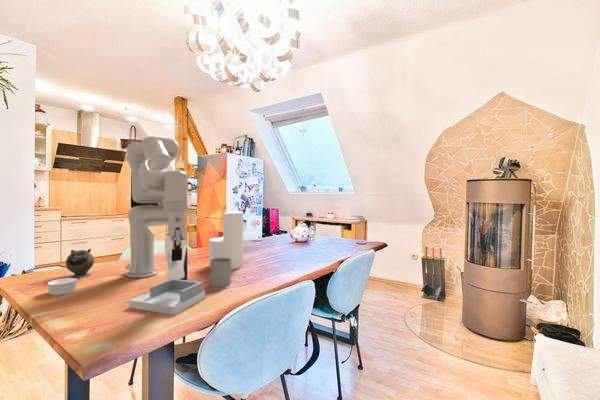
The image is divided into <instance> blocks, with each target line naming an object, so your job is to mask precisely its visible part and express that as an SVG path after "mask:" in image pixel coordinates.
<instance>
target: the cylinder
mask: <svg viewBox="0 0 600 400" xmlns="http://www.w3.org/2000/svg"><path fill="white" fill-rule="evenodd" d="M222 216H223V219H222V220H223V223H222V224H223V227H222V228H223V229H222V230H223V231H222V233H223V234H222V235H223V236H221V237H220V236H219V237H213V238H209V240H208V252H209V253H208V268H210V261H211V260H212V259H216V258H229V259H231V270H237V269H239V268H242V267H243V266H244V265H243V264H244V211H239V210H237V211H235V210H233V211H232V210H229V211H227V212H223V215H222Z"/></svg>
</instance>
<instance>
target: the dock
mask: <svg viewBox="0 0 600 400" xmlns="http://www.w3.org/2000/svg"><path fill="white" fill-rule="evenodd" d="M205 297H206V291H205V290H204V282H203V281H195V280H188V279H187V280H180V279H174V280H171V279H166V280H165V281H162V282H160V283H157V284H155V285H152V286H150V287H149V291H148V292H146V293H144V294H141V295H139V296H136V297H133V298H131V299H129V300H128V303H129V304H128V307H129V309H136V310H139V311H140V310H141V311H148V312H153V313H154V312H155V313H160V314H167V315H173V316H174V315H177V314H179V313H181V312H183V311H185V310H186V309H188V308H190V307H192V306H193V305H195V304H198V302H201V301H202V300H204V299H205Z"/></svg>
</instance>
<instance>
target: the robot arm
mask: <svg viewBox="0 0 600 400" xmlns="http://www.w3.org/2000/svg"><path fill="white" fill-rule="evenodd" d="M179 155H180V146H179V143H178V142H177V141H176V140H175V139H173V138H169V137H161V136H146V137H145V138H143V139H142V140H141V142H132V143H131V142H130V143H129V144H128V145H127V147H126V158H127V162H128V164H129V168H130V171H131V197H132V200H133V201H134V202H136V203H141V204H150V203H151V204H155V203H157V204H158V205H137V206H133V207H131V208H130V209H129V210H128V213H127V214H128V215H127V217H128V223H129V229H130V230H129V231H130V263H128V264H127V265H126V266H125V267H124V268H125V270H128V272H127V273H126V277H128V278H131V279H138V278H139V279H141V278H148V277H153V276H156V275H157V274H158V272H159V271H158V269H156V268H155V237H154V236H155V235H154V234H153V232H152V231H151V230H150V228H149V227H161V226H166V225H167V232H168V233H167V234H168V235H170V240H171V241H172V244H173V249H172V261H181V260H182V243H181V237H182V239H183V240H185V239H186V240H187V233H186V228H187V227H186V214H185V213H186V212H188V181H189V180H188V173H187V172H186V171H181V170H179V171H178V170H168V171H167V170H166V169H167V168H168V167H169V166H170V164H171V162H173V161H174V160H176V159H177V157H178V156H179ZM164 170H166V171H164ZM175 237H176V239H175V240H174V238H175ZM174 242H175V243H174Z"/></svg>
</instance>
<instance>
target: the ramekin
mask: <svg viewBox="0 0 600 400" xmlns="http://www.w3.org/2000/svg"><path fill="white" fill-rule="evenodd" d="M77 281H78V278H73V277H65V278H58V279H54V280H50V281H48V282H47V283H46V284H47V286H48V294H49V295H50V296H63V295H62V294H64V295H69V294H71V292H72V293H75V291H76V290H77ZM68 293H69V294H68Z"/></svg>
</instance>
